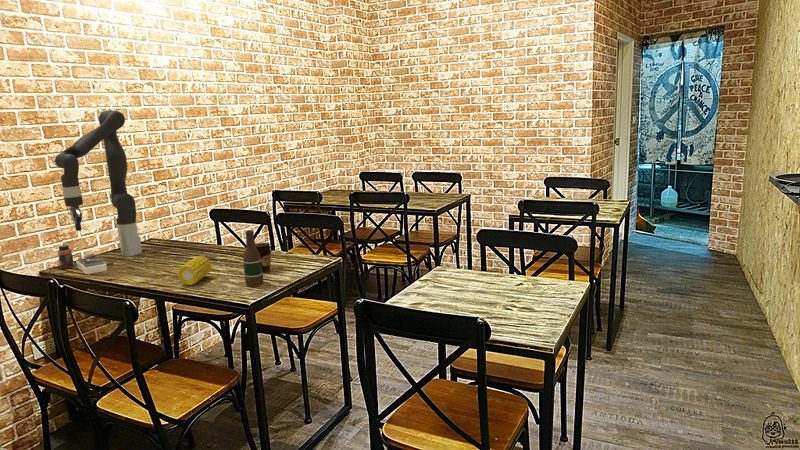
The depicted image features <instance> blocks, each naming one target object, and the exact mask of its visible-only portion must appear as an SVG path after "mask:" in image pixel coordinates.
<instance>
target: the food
mask: <svg viewBox="0 0 800 450" xmlns="http://www.w3.org/2000/svg"><path fill="white" fill-rule="evenodd" d="M211 270H212V264H211V261H210V260H209V258H207V257H206V256H202V255H199V256H195V257H194V258H192V259H190V260H188V261H187V262H186V263H185V264H184V265H183V264H182V266H181V267H179V268H178V271H177V277H178V281H180V282H181V283H182V284H184V286H185V285H186V286H193V285H195V284H196V283H198V282H199V281H201V280H202V279H203V278H205V276H207V275H209V273H210V272H211Z"/></svg>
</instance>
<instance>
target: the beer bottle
mask: <svg viewBox="0 0 800 450" xmlns="http://www.w3.org/2000/svg"><path fill="white" fill-rule="evenodd" d="M244 234H245V243H246V244H245V245H246V246H245V250H244V252H243V255H242V264H243V270H244V271H243V273H244V282H245V284H246V286H247V287H250V286H255V287H259V286H258V285H260V286H261V285H263V284H264V273H263V271H262V261H261V255H260V253H259V251H258V250H257V249H256V246H255V244H256V241H255V235H254V234H255V231H254V230H253V229H248V230H245V233H244ZM262 283H263V284H262Z"/></svg>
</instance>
